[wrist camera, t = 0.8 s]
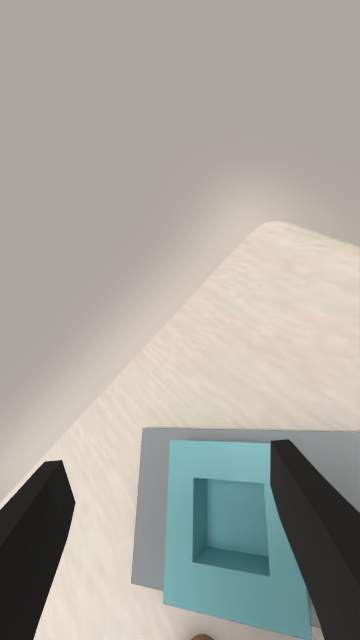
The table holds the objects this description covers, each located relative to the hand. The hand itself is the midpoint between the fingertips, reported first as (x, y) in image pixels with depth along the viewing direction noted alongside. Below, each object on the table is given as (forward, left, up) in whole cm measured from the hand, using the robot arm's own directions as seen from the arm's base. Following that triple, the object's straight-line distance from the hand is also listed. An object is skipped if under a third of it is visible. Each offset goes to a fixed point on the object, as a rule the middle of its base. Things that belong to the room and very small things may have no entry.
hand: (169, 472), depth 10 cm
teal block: (-4, +1, -16) cm, 17 cm away
